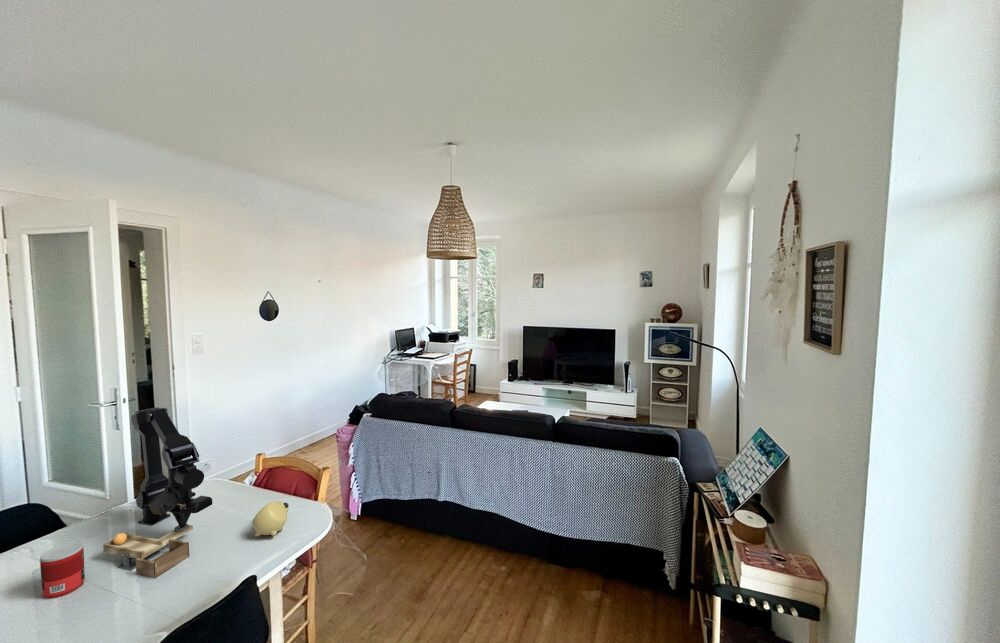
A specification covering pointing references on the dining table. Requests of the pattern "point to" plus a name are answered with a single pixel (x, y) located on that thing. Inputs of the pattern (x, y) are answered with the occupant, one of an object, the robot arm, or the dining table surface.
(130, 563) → the fulcrum
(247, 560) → the dining table surface
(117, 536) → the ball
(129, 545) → the lever
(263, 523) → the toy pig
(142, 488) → the robot arm
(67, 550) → the canned food
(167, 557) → the tray
